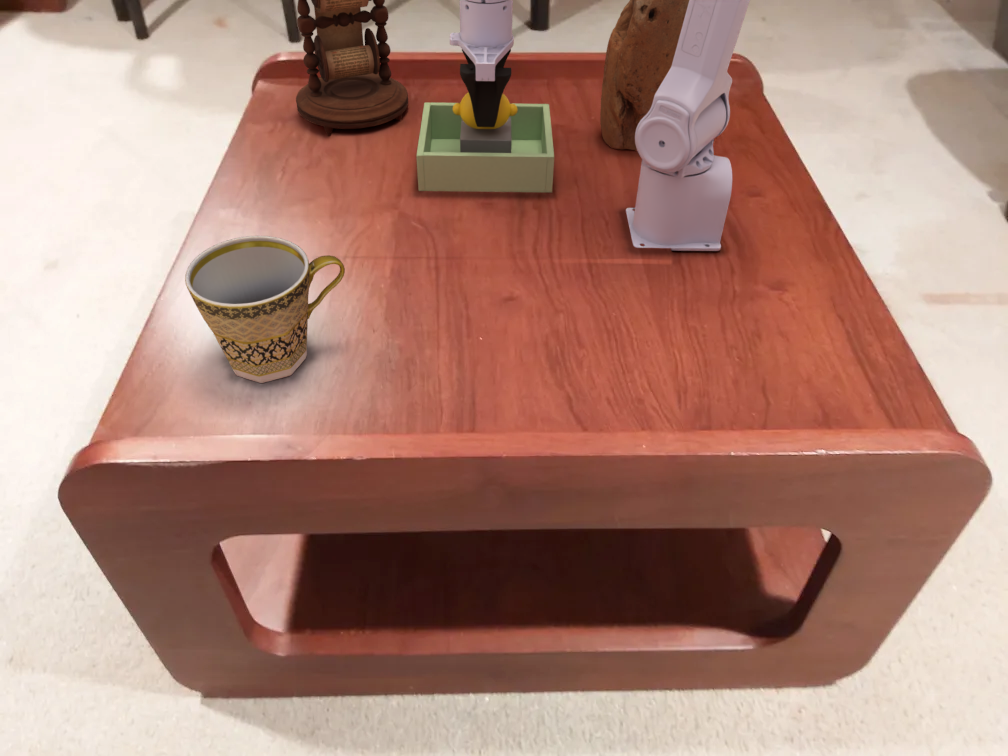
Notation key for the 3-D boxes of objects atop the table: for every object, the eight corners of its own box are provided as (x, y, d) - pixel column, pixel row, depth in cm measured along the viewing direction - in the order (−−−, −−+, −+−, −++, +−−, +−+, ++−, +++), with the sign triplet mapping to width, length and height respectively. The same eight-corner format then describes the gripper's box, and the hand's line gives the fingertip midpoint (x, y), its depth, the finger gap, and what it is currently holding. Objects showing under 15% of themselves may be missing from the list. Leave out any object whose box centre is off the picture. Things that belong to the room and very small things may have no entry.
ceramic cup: (222, 409, 70) (194, 318, 63) (204, 339, 77) (176, 249, 70) (369, 369, 74) (357, 279, 67) (340, 306, 80) (326, 218, 74)
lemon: (516, 119, 99) (517, 83, 96) (517, 136, 96) (518, 100, 93) (453, 118, 99) (452, 82, 96) (452, 135, 96) (451, 99, 93)
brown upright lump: (669, 125, 110) (695, -35, 96) (691, 151, 105) (722, -14, 91) (592, 132, 108) (607, -30, 94) (610, 159, 103) (629, -8, 89)
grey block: (510, 150, 103) (511, 117, 100) (510, 175, 98) (511, 140, 95) (462, 150, 103) (461, 116, 100) (460, 174, 98) (460, 139, 95)
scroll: (389, 83, 118) (377, -70, 104) (424, 127, 108) (415, -35, 95) (287, 100, 114) (260, -58, 100) (314, 148, 104) (288, -20, 90)
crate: (547, 141, 106) (549, 103, 102) (551, 196, 96) (554, 156, 93) (426, 140, 106) (424, 102, 102) (418, 195, 96) (416, 155, 92)
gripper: (451, -29, 92) (454, 88, 102) (445, 19, 82) (449, 144, 91) (514, -28, 92) (511, 89, 102) (515, 20, 82) (512, 145, 91)
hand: (486, 115), depth 96 cm, fingers closed on lemon, 4 cm apart
